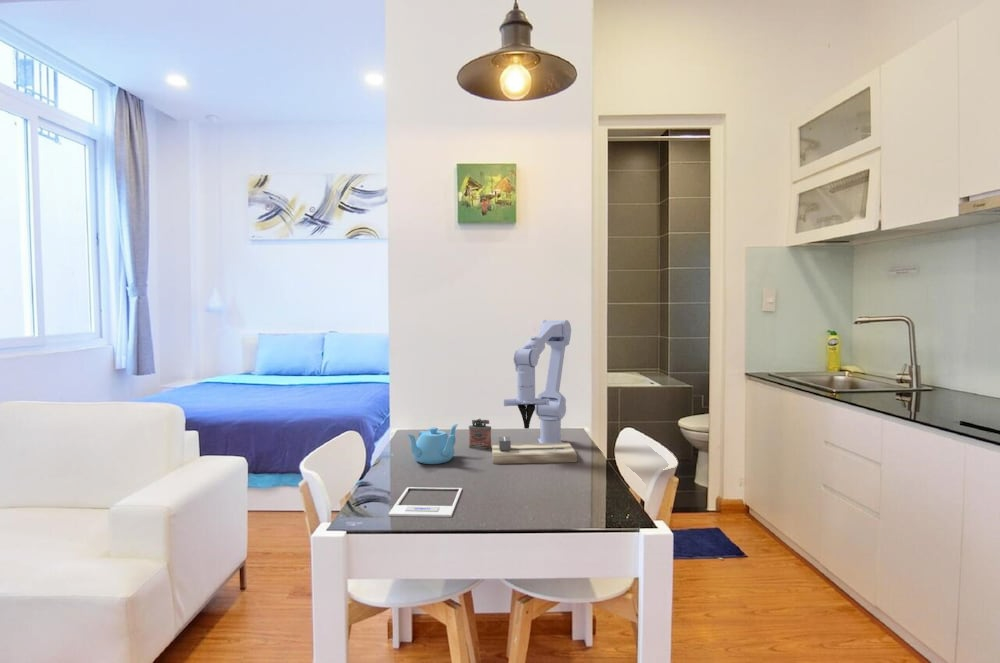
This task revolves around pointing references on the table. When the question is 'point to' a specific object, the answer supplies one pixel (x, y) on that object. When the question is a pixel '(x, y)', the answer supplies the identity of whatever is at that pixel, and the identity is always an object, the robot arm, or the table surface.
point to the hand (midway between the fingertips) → (526, 427)
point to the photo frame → (424, 510)
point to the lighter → (480, 435)
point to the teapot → (433, 446)
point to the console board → (534, 453)
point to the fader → (504, 443)
